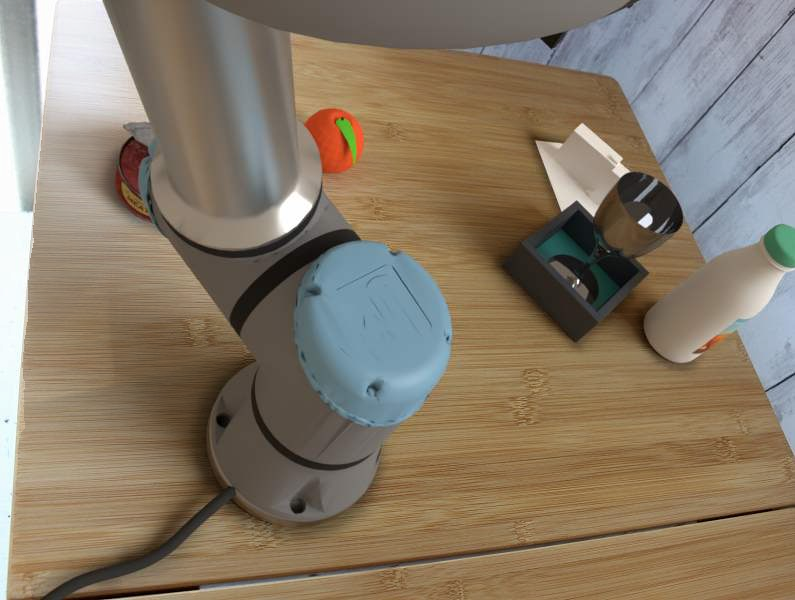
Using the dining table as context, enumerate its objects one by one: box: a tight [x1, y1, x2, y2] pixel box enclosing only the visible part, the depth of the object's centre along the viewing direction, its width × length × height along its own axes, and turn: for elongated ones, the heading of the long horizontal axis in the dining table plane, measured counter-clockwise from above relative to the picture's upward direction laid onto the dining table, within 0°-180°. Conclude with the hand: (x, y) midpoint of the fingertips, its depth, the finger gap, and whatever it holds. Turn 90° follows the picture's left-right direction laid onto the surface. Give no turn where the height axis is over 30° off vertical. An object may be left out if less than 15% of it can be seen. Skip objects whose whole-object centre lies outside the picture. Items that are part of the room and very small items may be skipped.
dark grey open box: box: [501, 200, 650, 343], centre depth 96 cm, size 12×12×5 cm
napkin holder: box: [535, 122, 631, 217], centre depth 105 cm, size 15×11×6 cm
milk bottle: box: [643, 223, 795, 364], centre depth 91 cm, size 8×8×20 cm
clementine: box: [303, 107, 365, 174], centre depth 90 cm, size 8×7×7 cm
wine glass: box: [548, 171, 684, 305], centre depth 91 cm, size 8×8×15 cm
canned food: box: [113, 121, 155, 224], centre depth 80 cm, size 11×10×10 cm
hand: (583, 16), depth 74 cm, fingers open, 13 cm apart
